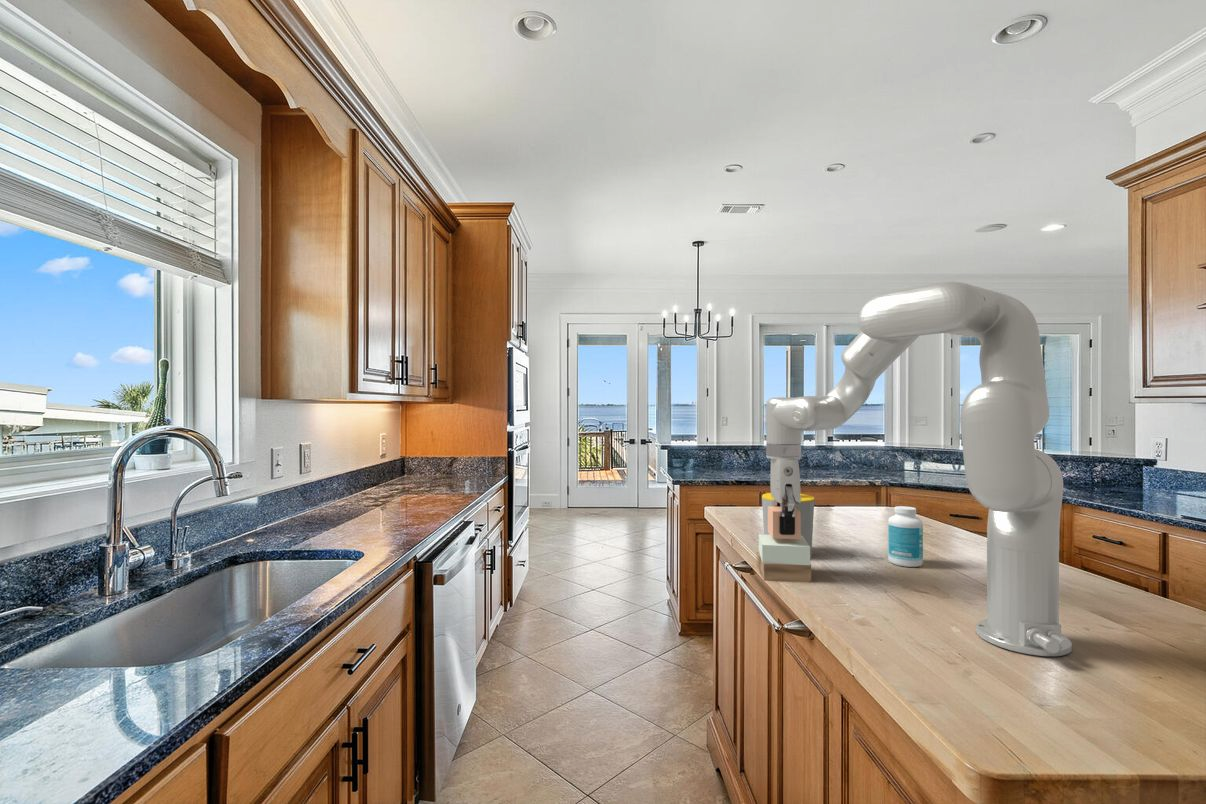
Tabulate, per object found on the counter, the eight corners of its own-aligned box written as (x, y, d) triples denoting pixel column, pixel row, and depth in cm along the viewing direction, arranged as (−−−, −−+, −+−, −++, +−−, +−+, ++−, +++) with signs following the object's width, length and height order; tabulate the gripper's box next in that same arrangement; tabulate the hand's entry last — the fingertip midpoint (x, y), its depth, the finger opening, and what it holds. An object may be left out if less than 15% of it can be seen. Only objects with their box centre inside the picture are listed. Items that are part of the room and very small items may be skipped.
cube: (800, 538, 125) (800, 511, 125) (772, 538, 126) (772, 511, 126) (794, 532, 131) (794, 506, 131) (767, 532, 132) (767, 506, 132)
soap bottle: (819, 550, 148) (819, 470, 148) (808, 563, 137) (808, 475, 137) (769, 544, 155) (769, 467, 155) (755, 555, 144) (755, 472, 144)
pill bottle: (927, 569, 132) (927, 511, 132) (893, 567, 134) (893, 510, 134) (916, 560, 140) (916, 505, 140) (884, 558, 141) (884, 504, 141)
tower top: (810, 565, 123) (810, 547, 123) (762, 563, 125) (762, 544, 125) (802, 552, 133) (802, 535, 133) (758, 551, 135) (758, 534, 135)
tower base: (811, 583, 123) (811, 565, 123) (764, 582, 124) (764, 563, 124) (800, 569, 133) (800, 552, 133) (756, 568, 134) (756, 551, 134)
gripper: (810, 455, 120) (811, 540, 120) (791, 448, 137) (791, 523, 137) (774, 455, 120) (774, 540, 120) (759, 448, 138) (760, 522, 138)
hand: (783, 530), depth 129 cm, fingers closed on cube, 6 cm apart
